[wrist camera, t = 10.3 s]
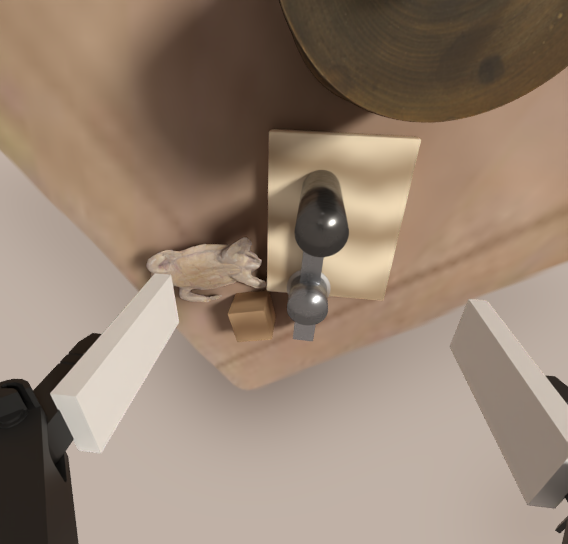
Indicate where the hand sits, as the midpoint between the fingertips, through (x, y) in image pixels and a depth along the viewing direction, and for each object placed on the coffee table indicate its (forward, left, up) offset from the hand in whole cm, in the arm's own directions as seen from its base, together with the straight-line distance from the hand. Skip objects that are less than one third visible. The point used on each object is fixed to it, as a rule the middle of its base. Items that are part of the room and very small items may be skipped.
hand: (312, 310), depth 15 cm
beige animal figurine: (+11, -12, -23) cm, 28 cm away
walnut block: (+17, -7, -23) cm, 29 cm away
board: (+4, +2, -23) cm, 23 cm away
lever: (+8, 0, -20) cm, 22 cm away
